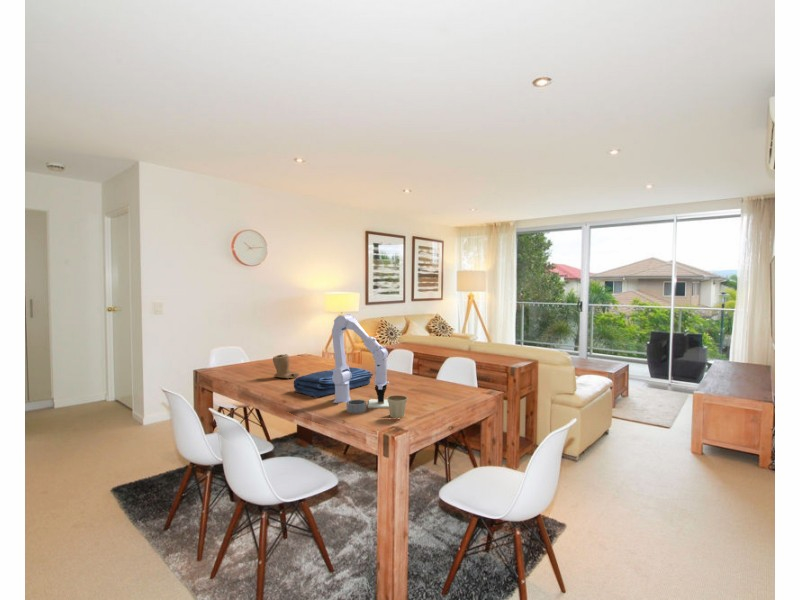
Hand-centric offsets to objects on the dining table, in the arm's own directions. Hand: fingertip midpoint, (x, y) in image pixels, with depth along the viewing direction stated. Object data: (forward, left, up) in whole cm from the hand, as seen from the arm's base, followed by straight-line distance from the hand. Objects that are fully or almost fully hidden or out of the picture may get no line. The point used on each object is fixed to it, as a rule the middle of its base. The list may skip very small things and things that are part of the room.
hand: (380, 400), depth 207 cm
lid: (0, 0, -2) cm, 2 cm away
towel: (-37, -29, -3) cm, 47 cm away
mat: (0, 0, -2) cm, 2 cm away
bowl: (+10, -11, -2) cm, 15 cm away
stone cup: (-63, -64, -3) cm, 90 cm away
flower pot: (+18, +8, -3) cm, 20 cm away
